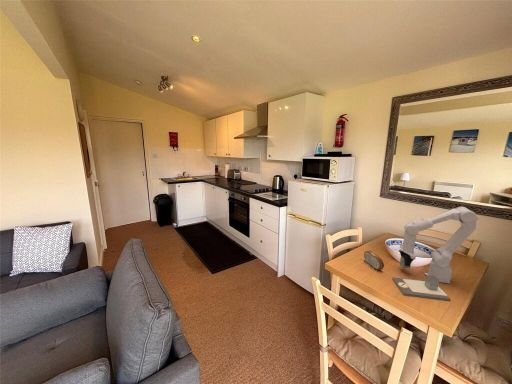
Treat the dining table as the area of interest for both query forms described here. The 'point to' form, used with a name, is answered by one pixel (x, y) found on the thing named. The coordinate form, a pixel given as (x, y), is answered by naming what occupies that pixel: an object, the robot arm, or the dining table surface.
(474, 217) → the robot arm
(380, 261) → the tin
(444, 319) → the dining table surface
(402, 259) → the block
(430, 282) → the block
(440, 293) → the scale
